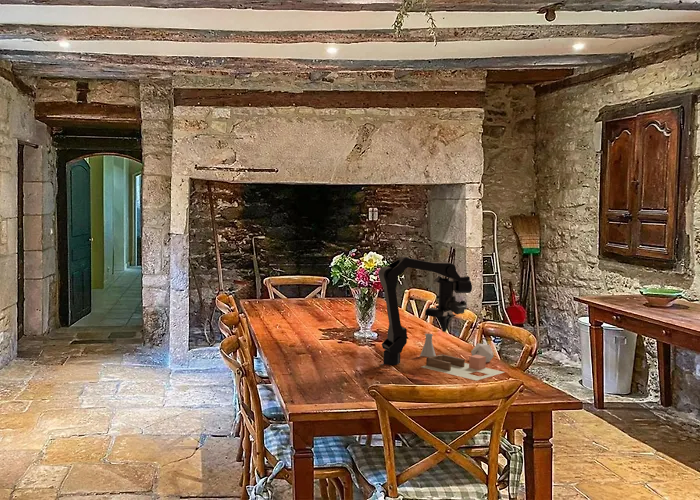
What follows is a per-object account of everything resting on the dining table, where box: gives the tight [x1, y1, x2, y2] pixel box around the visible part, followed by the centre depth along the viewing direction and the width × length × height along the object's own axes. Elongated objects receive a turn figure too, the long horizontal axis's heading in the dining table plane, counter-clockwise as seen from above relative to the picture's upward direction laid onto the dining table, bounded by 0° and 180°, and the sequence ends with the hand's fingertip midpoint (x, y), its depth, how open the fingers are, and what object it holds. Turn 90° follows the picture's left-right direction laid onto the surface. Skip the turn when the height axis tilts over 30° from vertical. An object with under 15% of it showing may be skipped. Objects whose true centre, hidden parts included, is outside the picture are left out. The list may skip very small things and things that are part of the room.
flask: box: [419, 333, 437, 358], centre depth 292 cm, size 7×7×10 cm
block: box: [468, 355, 487, 370], centre depth 272 cm, size 4×4×4 cm
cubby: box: [425, 353, 466, 371], centre depth 273 cm, size 10×11×3 cm
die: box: [470, 343, 495, 363], centre depth 285 cm, size 8×9×10 cm
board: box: [421, 362, 505, 382], centre depth 269 cm, size 19×26×1 cm
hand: (444, 331), depth 282 cm, fingers closed
